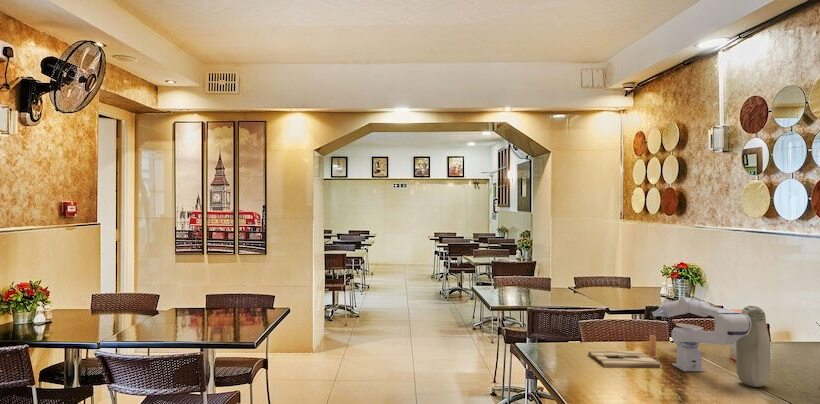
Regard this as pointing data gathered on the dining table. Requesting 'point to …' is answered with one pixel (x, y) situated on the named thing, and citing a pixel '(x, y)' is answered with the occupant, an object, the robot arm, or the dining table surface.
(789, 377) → the dining table surface
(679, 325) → the plastic cup
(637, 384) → the dining table surface
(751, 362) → the grey bottle
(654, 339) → the keyhole peg
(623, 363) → the keyhole board
